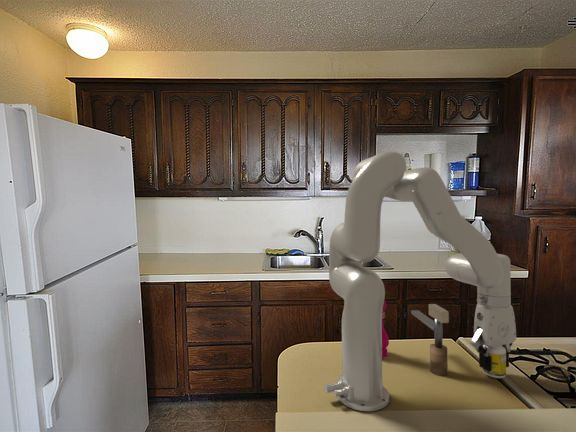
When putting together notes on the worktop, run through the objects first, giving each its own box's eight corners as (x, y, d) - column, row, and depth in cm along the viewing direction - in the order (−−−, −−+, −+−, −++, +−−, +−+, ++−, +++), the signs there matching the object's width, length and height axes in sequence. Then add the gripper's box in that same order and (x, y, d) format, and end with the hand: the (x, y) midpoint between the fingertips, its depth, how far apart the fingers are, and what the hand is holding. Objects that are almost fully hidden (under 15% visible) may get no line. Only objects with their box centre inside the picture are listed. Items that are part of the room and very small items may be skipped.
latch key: (449, 351, 86) (449, 311, 85) (440, 351, 85) (440, 311, 85) (418, 326, 104) (417, 293, 104) (411, 326, 104) (410, 293, 104)
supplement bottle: (477, 371, 87) (477, 336, 87) (490, 366, 90) (489, 332, 90) (498, 380, 82) (498, 343, 82) (510, 375, 85) (510, 339, 85)
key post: (438, 377, 86) (438, 351, 86) (426, 369, 91) (426, 344, 90) (451, 374, 88) (451, 348, 88) (439, 366, 92) (438, 342, 92)
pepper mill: (390, 360, 96) (389, 294, 96) (365, 359, 98) (364, 293, 97) (387, 350, 103) (386, 288, 103) (364, 348, 105) (363, 288, 104)
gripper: (481, 307, 79) (481, 379, 80) (531, 300, 85) (531, 368, 85) (457, 299, 87) (457, 365, 87) (504, 293, 92) (504, 355, 92)
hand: (494, 366), depth 86 cm, fingers closed on supplement bottle, 5 cm apart
